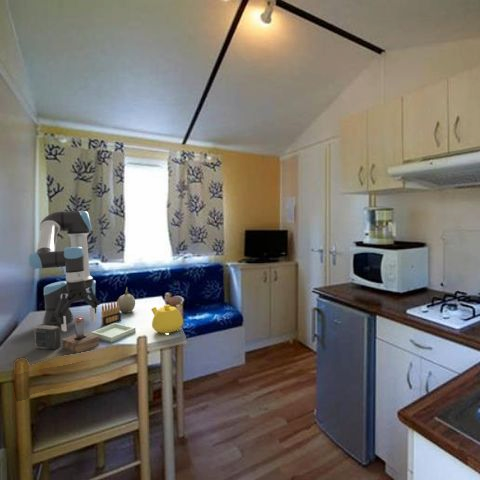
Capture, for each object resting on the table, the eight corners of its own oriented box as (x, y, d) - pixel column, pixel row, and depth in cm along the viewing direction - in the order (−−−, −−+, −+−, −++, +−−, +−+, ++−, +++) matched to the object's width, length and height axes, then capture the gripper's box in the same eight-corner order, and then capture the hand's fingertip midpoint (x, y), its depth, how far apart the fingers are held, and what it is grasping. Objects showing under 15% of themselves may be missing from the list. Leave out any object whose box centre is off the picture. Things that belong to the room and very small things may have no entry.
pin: (75, 346, 134) (73, 319, 133) (82, 344, 137) (80, 317, 136) (79, 348, 132) (77, 320, 131) (86, 345, 135) (84, 318, 134)
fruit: (126, 316, 175) (124, 292, 174) (114, 313, 181) (112, 290, 180) (140, 311, 184) (138, 288, 183) (128, 308, 190) (127, 286, 189)
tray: (91, 336, 145) (91, 331, 145) (115, 327, 157) (115, 322, 157) (111, 342, 137) (111, 337, 137) (135, 332, 149) (135, 327, 149)
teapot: (141, 331, 150) (139, 305, 149) (165, 322, 163) (164, 298, 162) (165, 339, 138) (164, 312, 137) (189, 329, 151) (188, 303, 150)
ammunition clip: (103, 326, 159) (101, 305, 158) (101, 325, 160) (100, 304, 159) (121, 320, 168) (119, 300, 167) (119, 320, 169) (118, 300, 168)
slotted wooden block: (63, 347, 133) (62, 339, 133) (83, 339, 142) (83, 331, 142) (77, 353, 127) (77, 344, 127) (98, 344, 136) (98, 336, 136)
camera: (63, 345, 136) (61, 325, 135) (52, 351, 130) (50, 330, 129) (44, 344, 139) (42, 323, 138) (32, 349, 133) (30, 328, 132)
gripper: (51, 287, 120) (55, 336, 121) (105, 276, 141) (108, 318, 142) (41, 285, 123) (46, 333, 125) (96, 275, 145) (99, 316, 146)
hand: (79, 325), depth 134 cm, fingers open, 13 cm apart
